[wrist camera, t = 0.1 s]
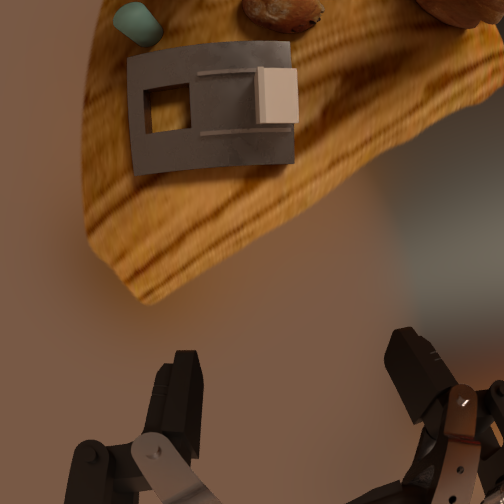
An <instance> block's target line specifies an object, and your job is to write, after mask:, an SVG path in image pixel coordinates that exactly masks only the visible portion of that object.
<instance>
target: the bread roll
mask: <svg viewBox="0 0 504 504" xmlns="http://www.w3.org/2000/svg"><path fill="white" fill-rule="evenodd" d="M242 6H243V10H244V12H245V13H246V15H247V16H248V17H249V18H250V20H251V21H253V22H254V23H255V24H257V25H259V26H262V27H264V28H268V29H270V30H274V31H277V32H281V33H294V32H302V31H304V30H306V29H308V28H310V27H311V26H313V25H314V24H316V22H318V21H320V20H321V19H320V16H321V14H320V13H323V12H324V7H323V5H322V4H320V2H319V0H242Z"/></svg>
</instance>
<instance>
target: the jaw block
mask: <svg viewBox="0 0 504 504" xmlns="http://www.w3.org/2000/svg"><path fill="white" fill-rule="evenodd" d="M254 87H255V110H256V124H293V123H299V109H298V84H297V69H294V68H264V67H257V70H256V73H255V76H254Z"/></svg>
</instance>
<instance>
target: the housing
mask: <svg viewBox="0 0 504 504" xmlns="http://www.w3.org/2000/svg"><path fill="white" fill-rule="evenodd" d="M257 67H264V68H291V52H290V42H288V41H234V42H218V43H207V44H198V45H190V46H183V47H176V48H170V49H164V50H159V51H154V52H149V53H145V54H140V55H136V56H132V57H128V58H127V93H128V114H129V129H130V141H131V152H132V161H133V169H134V176H139V175H146V174H154V173H162V172H170V171H179V170H189V169H200V168H212V167H226V166H242V165H265V164H294V123H293V124H256V110H255V87H254V76H255V73H256V70H257ZM183 87H190V109H191V126H192V128H187V129H178V130H171V131H164V132H157V133H152V119H151V101H150V93H152V92H157V91H163V90H169V89H176V88H183Z"/></svg>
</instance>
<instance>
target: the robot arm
mask: <svg viewBox="0 0 504 504" xmlns="http://www.w3.org/2000/svg"><path fill="white" fill-rule="evenodd" d="M384 364H385V367H386V369H387V371H388V373H389V375H390V377H391V379H392V381H393V383H394V385H395V387H396V389H397V391H398V393H399V395H400V397H401V399H402V401H403V403H404V405H405V407H406V410H407V411H408V414H409V416H410V418H411V420H412V422H413V424H414V425H415V424H417V423H420V422H422V421H423V422H424V424H425V425H424V427H423V428H422V432H421V435H420V439H419V443H418V446H417V450H416V453H415V456H414V460H413V462H412V465H411V467H410V468H409V470H408V471H407V473H406V474H405V476H404V478H403V480H402V482H401V483H400V480H397V481H395V482H392V483H389V484H386V485H384V486H381V487H378V488H375V489H372V490H371V491H369V492H367V493H365V494H364V495H362V496H360V497H358V498H356V499H354V500H352V501H350V502H348V503H346V504H470V500H471V497H472V493H473V489H474V484H475V479H476V475H477V473H478V476H479V478H480V481H481V484H482V487H483V490H484V493H485V498H484V500H483V501H482V502H481V503H480V504H504V442H503V446H502V447H500V445H499V443H498V441H497V439H496V437H495V435H494V432H493V430H492V428H491V427H490V425H491V424H492V423H493V422H494V421H495V422H496V424H497V426H498V428H499V431H500V432H501V435H502V437H503V441H504V381H503V380H497V381H495V382H494V383H493V384H492V385H491V386H490V388H489V389H488V390H479V391H474V389H473V388H471V387H470V386H468V385H466V384H458V382H457V381H456V380H455V378H454V376H453V375H452V373H451V372H450V370H449V369H448V367H447V366H446V365H445V363H444V362H443V360H442V359H441V357H440V356H439V354H438V353H436V350H435V349H434V347H433V346H432V345H431V343H430V342H429V341H427V340H426V339H425V338H423V337H422V336H418V335H417V333H416V332H415V330H414V329H413V328H412V327H405V328H401V329H396V330H394V331H393V333H392V336H391V339H390V342H389V344H388V347H387V350H386V353H385V356H384ZM203 391H204V383H203V374H202V370H201V367H200V363H199V359H198V355H197V352H196V350H182V351H181V350H177V351H176V353H175V358H174V363H173V364H167V363H164V364H163V366H162V367H161V368H160V370H159V371H158V372H157V374H156V378H155V382H154V387H153V391H152V396H151V400H150V404H149V408H148V413H147V417H146V422H145V427H144V430H143V432H142V434H141V435H140V436H138V437H137V438H136V439H135V440H134V441H133V442H131V443H128V444H122V445H115V446H106V447H105V446H104V445H103V444H102V443H101V442H99V441H96V440H86V441H83V442H81V443H80V444H79V445H78V446H77V447H76V449H75V451H74V455H73V459H72V463H71V468H70V473H69V478H68V483H67V489H66V494H65V501H64V504H138V503H139V491H147V490H154V492H155V493H156V495H157V496H158V497H159V499H160V500H161V502H162V503H163V504H222V503H221V502H220V501H219V500H218V498H217V497H216V496H215V495H214V494H213V493H212V492H211V491H210V490H209V489H208V488H207V487H206V486H205V485H204V484H203V482H202V481H201V480H200V479H199V478H198V477H197V475H196V474H195V473H194V472H193V471H192V469H191V468H190V465H191V458H194V459H199V449H200V433H201V432H200V431H201V418H202V403H203Z"/></svg>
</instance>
